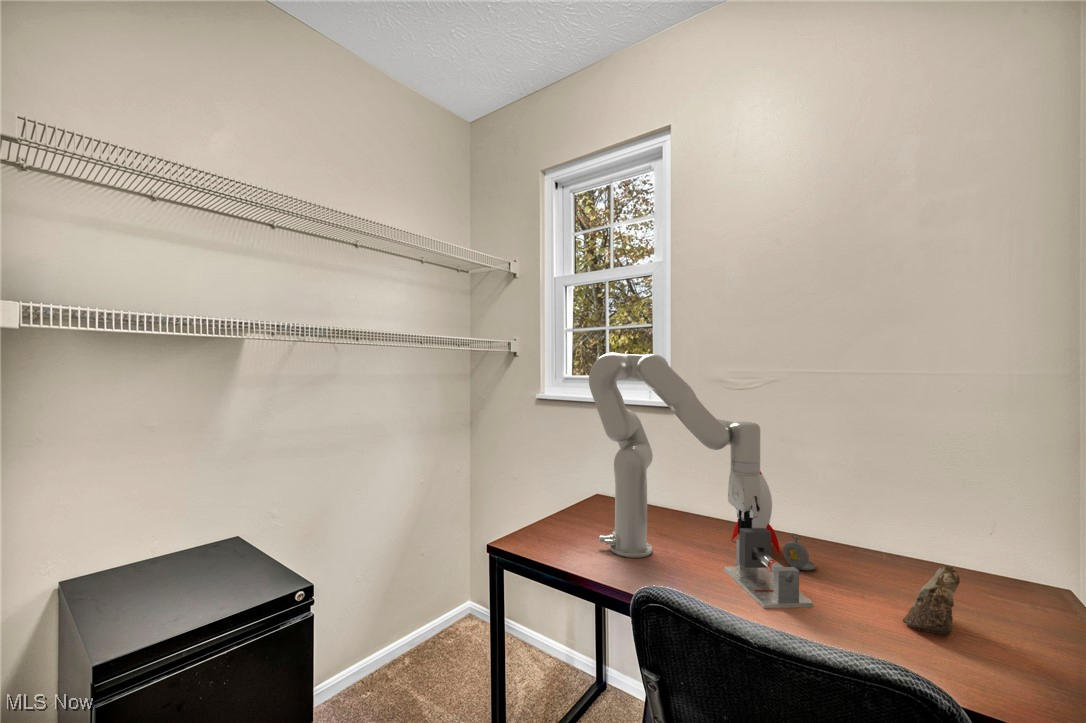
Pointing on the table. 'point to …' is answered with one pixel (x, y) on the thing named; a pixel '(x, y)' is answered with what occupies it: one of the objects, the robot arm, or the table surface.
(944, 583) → the rock
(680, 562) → the table surface
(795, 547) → the pocket watch
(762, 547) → the collar
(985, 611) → the table surface
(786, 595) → the machine vise
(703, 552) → the table surface
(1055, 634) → the table surface
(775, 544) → the rocket
